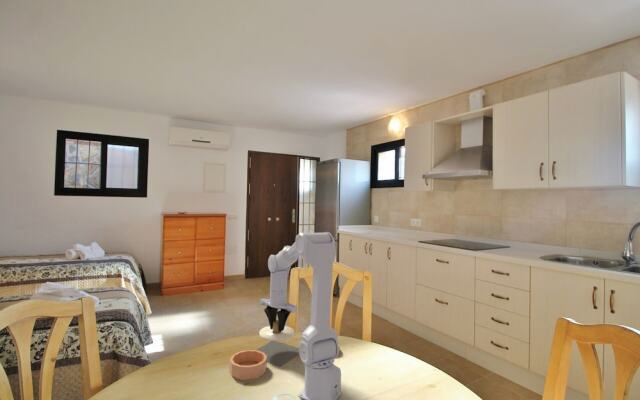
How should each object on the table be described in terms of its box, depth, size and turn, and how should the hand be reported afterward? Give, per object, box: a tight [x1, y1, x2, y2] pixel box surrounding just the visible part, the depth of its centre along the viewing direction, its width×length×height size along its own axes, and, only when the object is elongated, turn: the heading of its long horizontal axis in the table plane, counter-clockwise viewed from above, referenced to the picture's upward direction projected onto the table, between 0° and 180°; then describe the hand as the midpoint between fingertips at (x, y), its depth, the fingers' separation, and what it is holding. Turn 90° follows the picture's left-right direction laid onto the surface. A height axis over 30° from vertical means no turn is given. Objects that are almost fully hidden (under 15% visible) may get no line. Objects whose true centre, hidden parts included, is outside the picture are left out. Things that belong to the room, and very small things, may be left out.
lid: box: [258, 319, 295, 342], centre depth 112 cm, size 12×12×4 cm
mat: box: [255, 341, 299, 368], centre depth 112 cm, size 14×14×1 cm
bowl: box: [228, 349, 268, 381], centre depth 100 cm, size 11×11×4 cm
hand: (277, 329), depth 112 cm, fingers closed on lid, 3 cm apart
